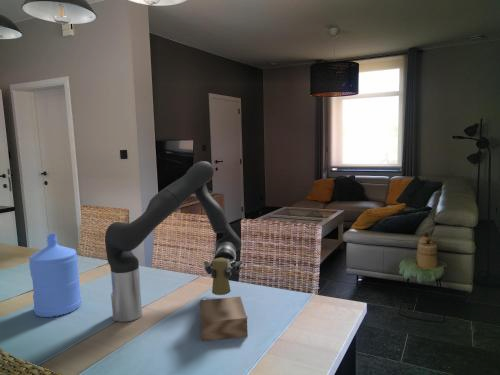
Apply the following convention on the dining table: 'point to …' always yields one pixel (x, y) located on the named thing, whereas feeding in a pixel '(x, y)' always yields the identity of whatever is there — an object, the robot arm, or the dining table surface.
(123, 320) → the robot arm
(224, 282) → the cork
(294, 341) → the dining table surface
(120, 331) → the dining table surface
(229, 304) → the walnut block
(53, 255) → the water jug
